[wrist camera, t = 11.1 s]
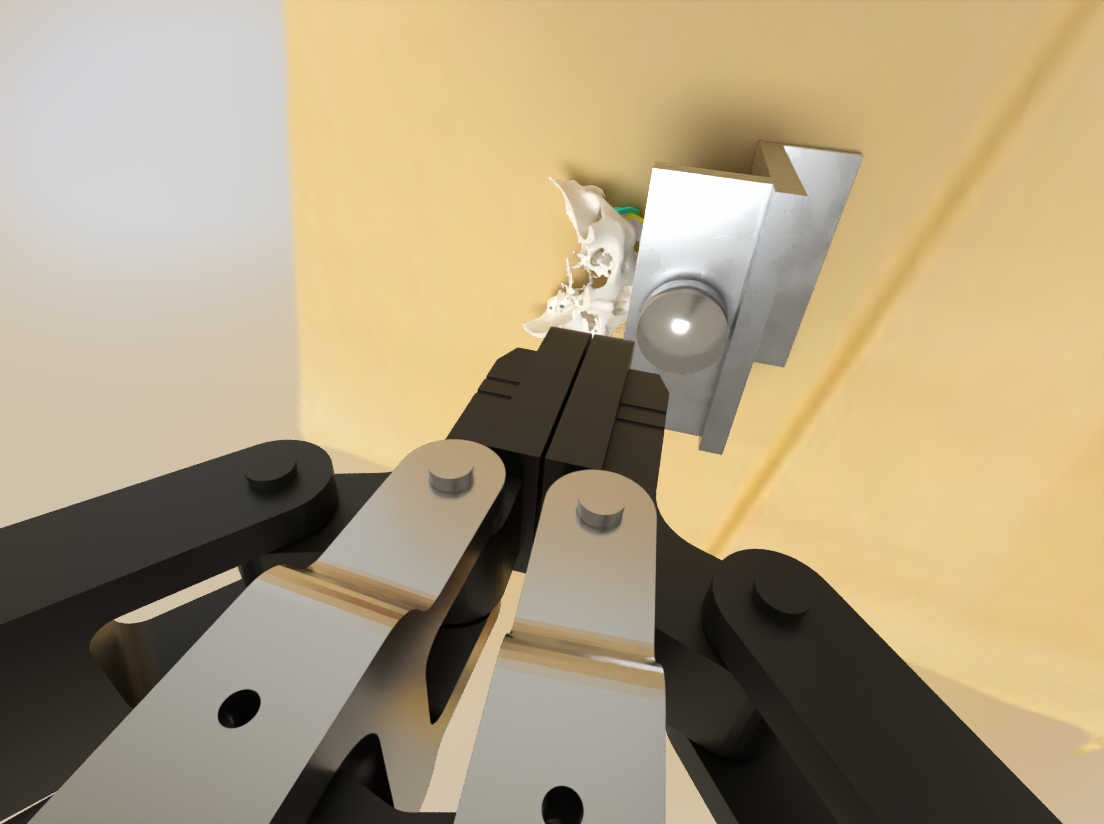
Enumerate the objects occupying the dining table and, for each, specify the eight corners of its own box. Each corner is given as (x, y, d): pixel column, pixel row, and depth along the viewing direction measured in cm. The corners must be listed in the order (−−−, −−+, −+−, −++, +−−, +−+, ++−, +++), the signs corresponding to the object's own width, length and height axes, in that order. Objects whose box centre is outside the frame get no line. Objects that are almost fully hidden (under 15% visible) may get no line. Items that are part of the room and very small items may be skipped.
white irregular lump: (676, 370, 46) (577, 387, 41) (615, 317, 51) (522, 326, 47) (731, 224, 39) (619, 224, 34) (654, 181, 44) (549, 176, 40)
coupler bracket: (670, 129, 39) (648, 176, 27) (860, 153, 37) (924, 215, 25) (632, 335, 48) (605, 435, 37) (783, 362, 46) (804, 476, 35)
